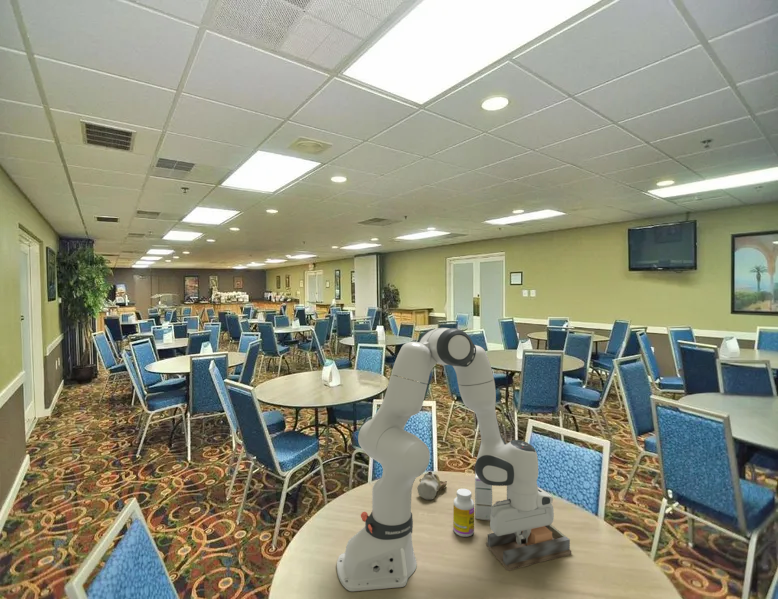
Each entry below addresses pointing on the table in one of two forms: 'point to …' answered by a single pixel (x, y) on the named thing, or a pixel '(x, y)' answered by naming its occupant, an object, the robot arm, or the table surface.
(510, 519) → the robot arm
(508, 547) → the chute
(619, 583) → the table surface
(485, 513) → the syrup box
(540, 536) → the peach block
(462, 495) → the supplement bottle
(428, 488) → the ceramic sculpture
